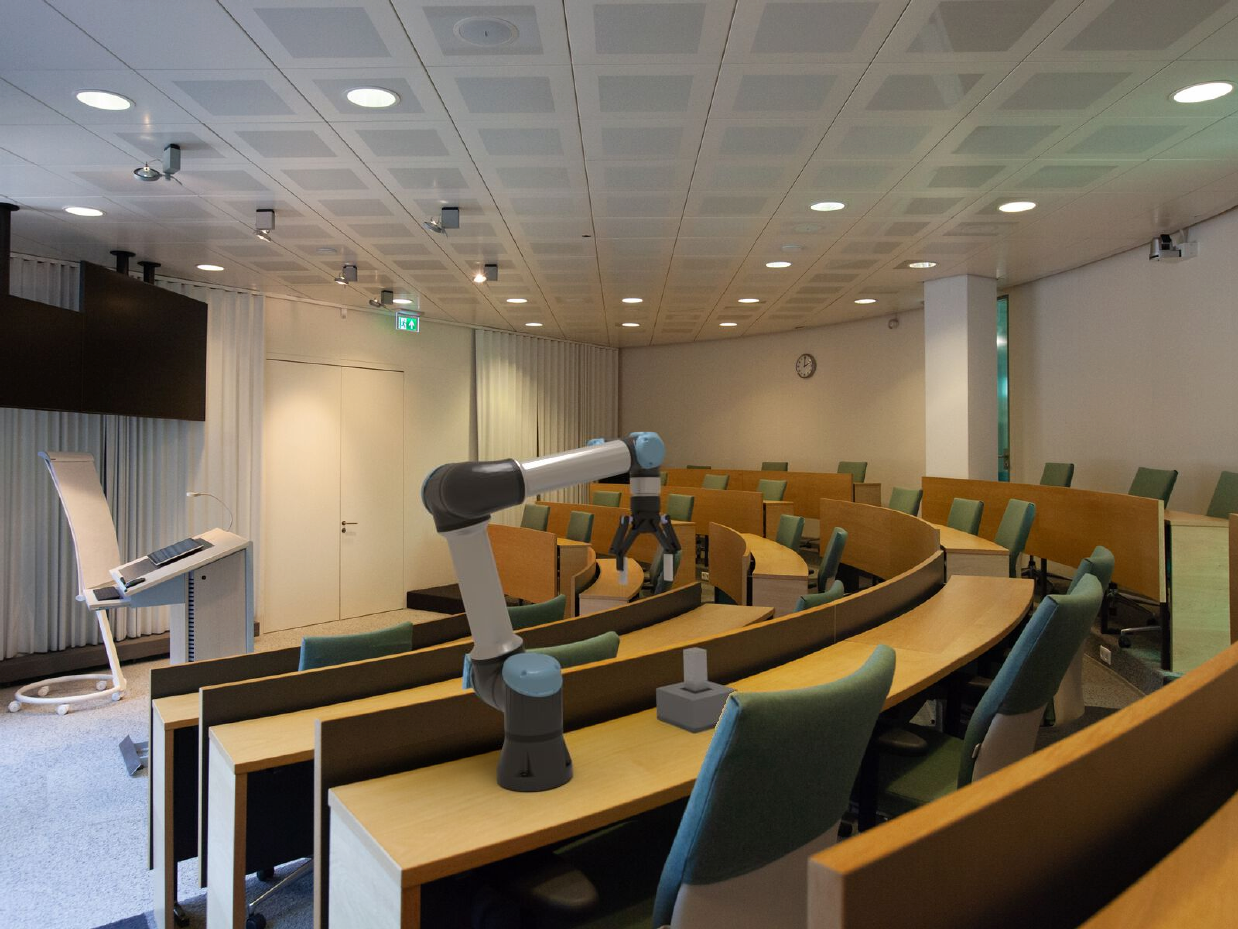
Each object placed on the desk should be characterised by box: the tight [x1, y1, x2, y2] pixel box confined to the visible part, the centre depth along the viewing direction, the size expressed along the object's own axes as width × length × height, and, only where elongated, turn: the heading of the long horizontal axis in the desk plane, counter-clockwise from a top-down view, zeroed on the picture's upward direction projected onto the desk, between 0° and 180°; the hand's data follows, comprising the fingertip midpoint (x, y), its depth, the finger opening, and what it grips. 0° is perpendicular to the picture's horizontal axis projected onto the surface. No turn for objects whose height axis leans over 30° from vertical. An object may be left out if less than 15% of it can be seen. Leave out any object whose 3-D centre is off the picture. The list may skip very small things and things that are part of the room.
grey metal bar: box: [682, 647, 708, 694], centre depth 181 cm, size 4×4×16 cm
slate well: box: [655, 680, 738, 734], centre depth 181 cm, size 14×14×8 cm
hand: (646, 582), depth 181 cm, fingers open, 13 cm apart
